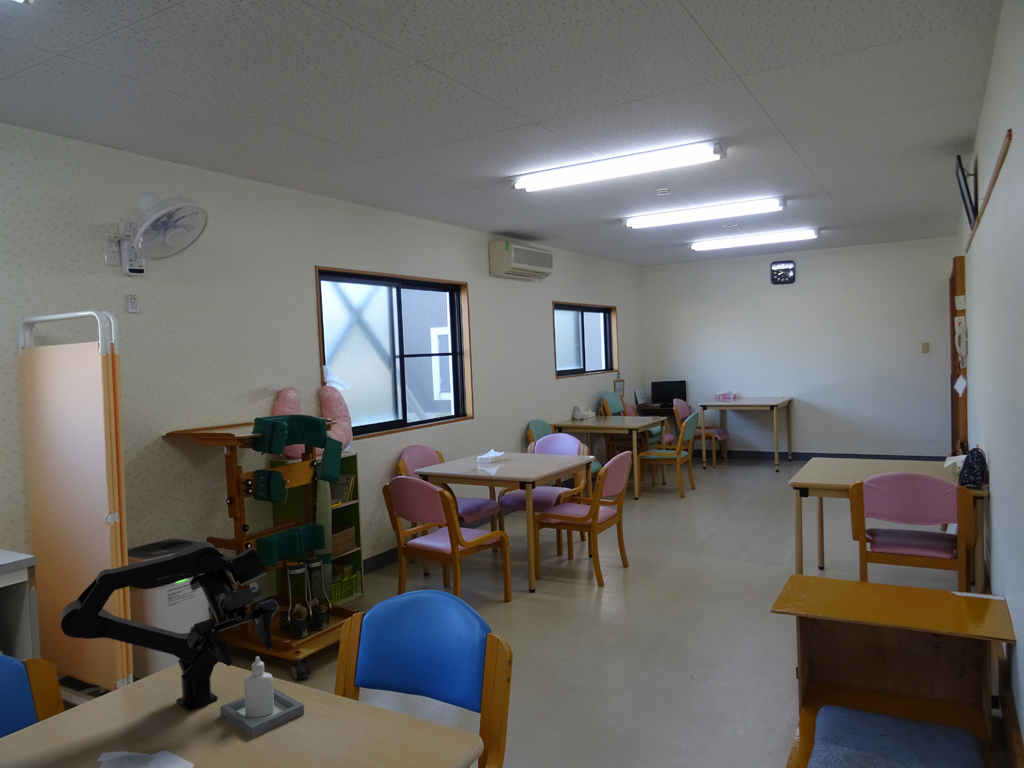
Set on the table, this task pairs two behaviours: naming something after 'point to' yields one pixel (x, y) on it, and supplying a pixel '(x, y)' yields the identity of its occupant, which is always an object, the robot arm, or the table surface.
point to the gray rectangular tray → (282, 713)
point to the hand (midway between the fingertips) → (250, 656)
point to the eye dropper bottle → (258, 692)
